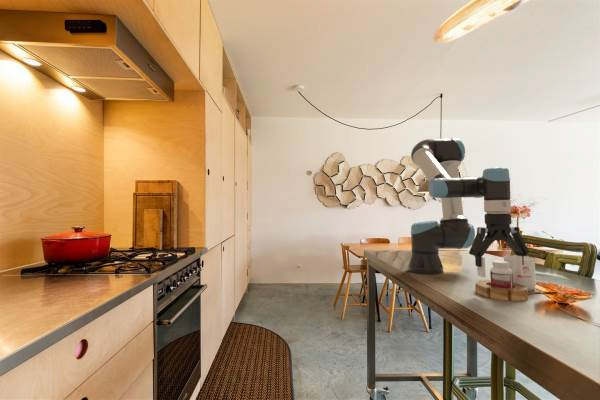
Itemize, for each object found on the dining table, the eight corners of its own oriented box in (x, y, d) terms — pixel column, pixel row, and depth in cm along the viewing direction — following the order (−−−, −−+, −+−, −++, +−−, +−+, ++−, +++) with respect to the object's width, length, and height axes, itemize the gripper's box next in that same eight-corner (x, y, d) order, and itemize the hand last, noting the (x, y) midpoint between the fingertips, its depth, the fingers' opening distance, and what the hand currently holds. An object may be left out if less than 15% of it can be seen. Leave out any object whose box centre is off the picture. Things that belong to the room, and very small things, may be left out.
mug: (526, 285, 106) (525, 255, 106) (542, 292, 97) (540, 259, 97) (491, 284, 108) (489, 255, 108) (503, 290, 99) (502, 259, 99)
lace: (522, 293, 95) (522, 292, 95) (554, 292, 97) (554, 290, 97) (524, 294, 95) (524, 292, 95) (557, 292, 96) (556, 291, 96)
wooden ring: (467, 289, 101) (466, 280, 102) (502, 287, 103) (502, 279, 103) (498, 301, 87) (498, 291, 88) (539, 299, 89) (538, 290, 89)
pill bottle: (497, 291, 99) (496, 259, 99) (517, 295, 93) (516, 262, 94) (487, 293, 96) (485, 261, 97) (506, 298, 91) (505, 264, 91)
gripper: (471, 213, 91) (473, 279, 90) (540, 212, 94) (544, 276, 93) (456, 213, 99) (458, 274, 98) (521, 212, 101) (523, 271, 100)
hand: (500, 275), depth 95 cm, fingers open, 13 cm apart
